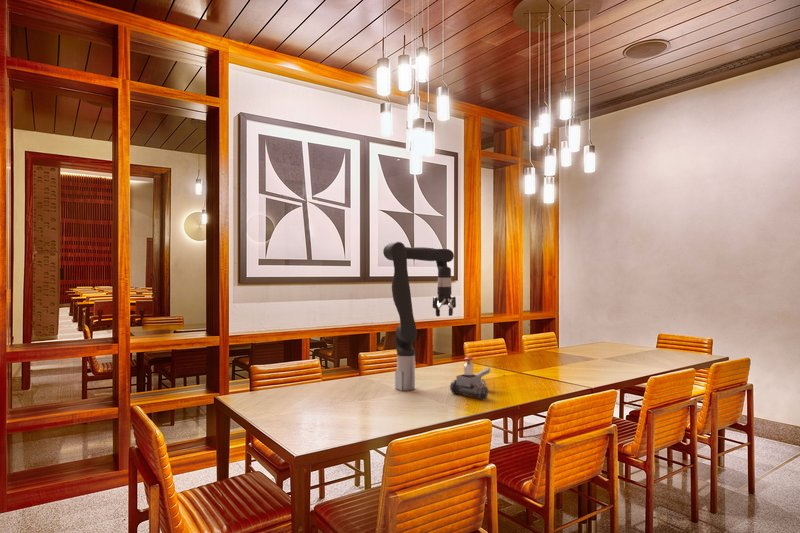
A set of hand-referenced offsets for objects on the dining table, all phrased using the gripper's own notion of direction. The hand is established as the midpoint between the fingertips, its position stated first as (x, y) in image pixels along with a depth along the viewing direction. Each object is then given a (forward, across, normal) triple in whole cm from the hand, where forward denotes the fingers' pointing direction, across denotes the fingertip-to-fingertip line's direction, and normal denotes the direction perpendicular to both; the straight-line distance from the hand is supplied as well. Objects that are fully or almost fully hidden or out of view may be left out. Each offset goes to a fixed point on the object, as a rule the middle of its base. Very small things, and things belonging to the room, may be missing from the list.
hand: (444, 316), depth 266 cm
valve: (+30, -8, -29) cm, 42 cm away
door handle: (+37, +7, -15) cm, 40 cm away
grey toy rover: (+36, -8, -29) cm, 47 cm away
